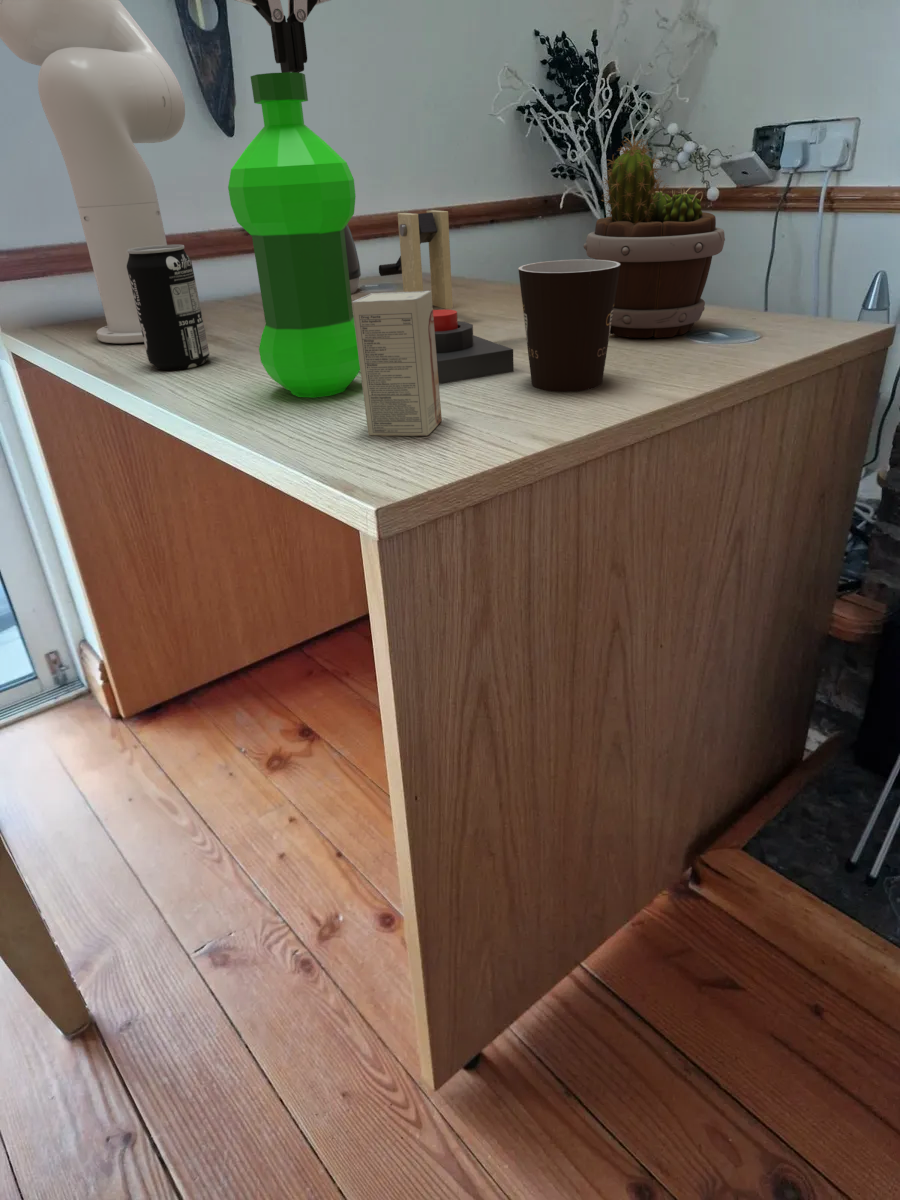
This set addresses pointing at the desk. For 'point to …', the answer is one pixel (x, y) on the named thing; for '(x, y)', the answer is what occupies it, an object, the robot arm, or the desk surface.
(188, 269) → the beverage can
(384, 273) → the lever
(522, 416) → the desk surface
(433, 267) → the lever bracket
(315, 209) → the plastic bottle
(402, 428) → the medicine carton
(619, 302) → the flowerpot
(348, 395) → the desk surface
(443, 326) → the button
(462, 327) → the control block
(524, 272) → the coffee mug
